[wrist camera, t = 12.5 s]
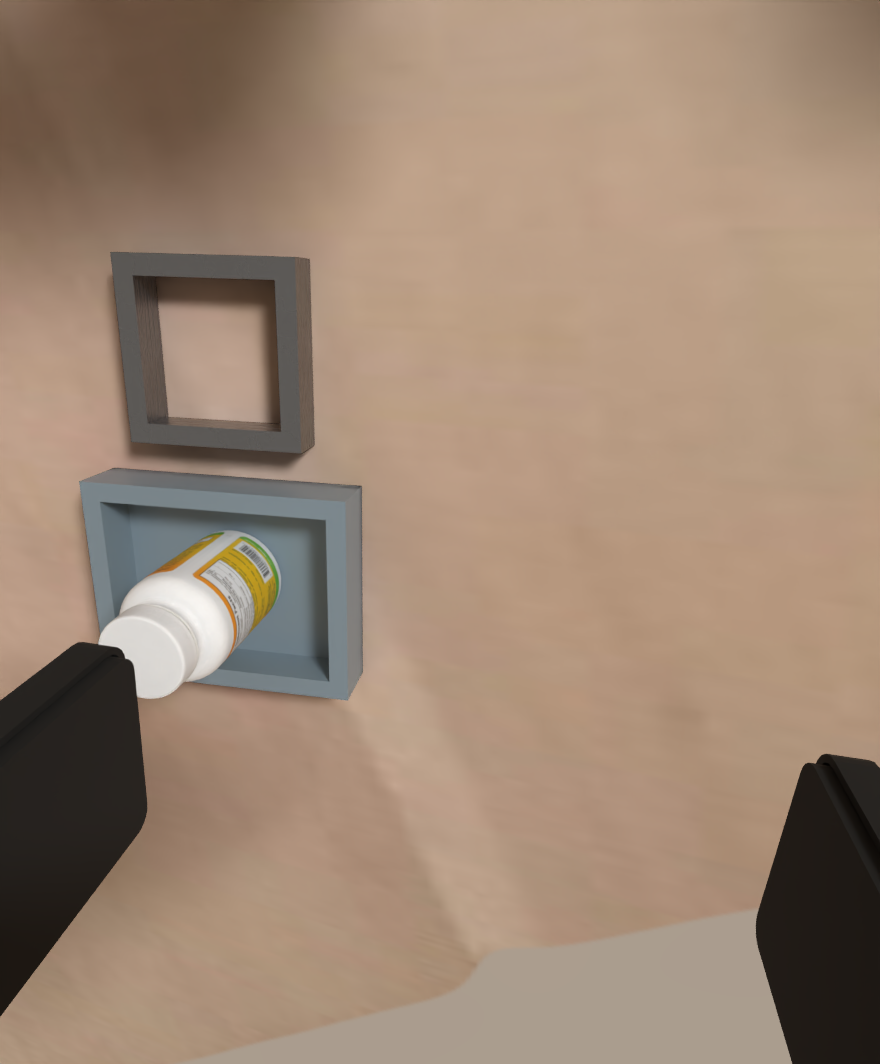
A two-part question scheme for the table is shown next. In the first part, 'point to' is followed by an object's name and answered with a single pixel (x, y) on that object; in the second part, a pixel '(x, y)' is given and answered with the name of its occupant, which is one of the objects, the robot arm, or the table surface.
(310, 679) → the tray
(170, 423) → the cradle
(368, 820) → the table surface
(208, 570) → the supplement bottle
